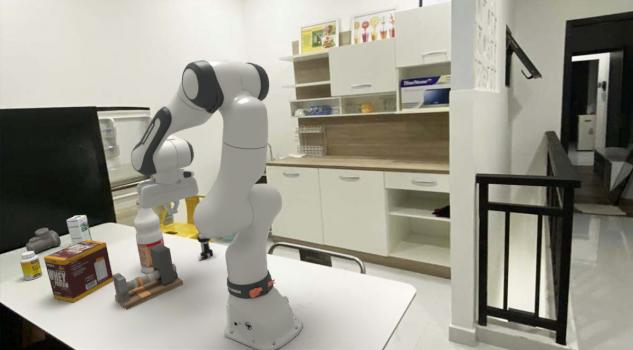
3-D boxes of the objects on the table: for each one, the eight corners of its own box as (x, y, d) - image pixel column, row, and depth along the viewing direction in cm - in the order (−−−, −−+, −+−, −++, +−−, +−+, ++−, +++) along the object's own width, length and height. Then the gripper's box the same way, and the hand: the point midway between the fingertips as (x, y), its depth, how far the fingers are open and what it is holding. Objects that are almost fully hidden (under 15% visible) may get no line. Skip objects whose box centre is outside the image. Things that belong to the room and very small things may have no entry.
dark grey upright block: (175, 280, 123) (169, 248, 121) (163, 285, 120) (158, 252, 118) (166, 274, 128) (160, 243, 125) (155, 279, 125) (149, 247, 123)
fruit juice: (149, 262, 143) (138, 197, 137) (172, 262, 143) (161, 196, 137) (137, 274, 134) (123, 204, 128) (160, 273, 134) (148, 203, 128)
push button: (203, 262, 141) (200, 239, 138) (194, 259, 143) (191, 237, 141) (216, 255, 146) (213, 233, 144) (207, 253, 149) (204, 231, 147)
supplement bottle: (35, 280, 135) (29, 255, 133) (21, 281, 135) (14, 256, 133) (46, 273, 140) (40, 249, 138) (32, 274, 140) (25, 250, 138)
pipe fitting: (54, 242, 172) (48, 224, 169) (63, 246, 168) (57, 227, 165) (26, 255, 162) (19, 235, 159) (35, 259, 159) (28, 239, 155)
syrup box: (85, 248, 164) (78, 218, 161) (72, 248, 164) (66, 219, 161) (92, 243, 169) (86, 214, 166) (80, 243, 169) (74, 215, 166)
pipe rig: (183, 284, 124) (179, 259, 122) (126, 309, 111) (121, 282, 109) (170, 276, 131) (166, 252, 129) (115, 299, 117) (110, 273, 115)
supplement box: (53, 298, 120) (42, 256, 117) (95, 277, 134) (86, 239, 131) (73, 303, 117) (63, 260, 113) (114, 280, 130) (106, 241, 127)
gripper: (139, 183, 112) (146, 224, 115) (197, 171, 126) (203, 207, 129) (131, 181, 116) (139, 220, 119) (189, 169, 130) (194, 204, 133)
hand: (172, 213), depth 124 cm, fingers closed
